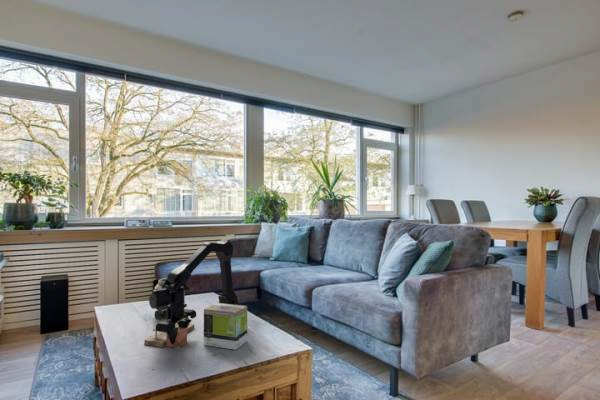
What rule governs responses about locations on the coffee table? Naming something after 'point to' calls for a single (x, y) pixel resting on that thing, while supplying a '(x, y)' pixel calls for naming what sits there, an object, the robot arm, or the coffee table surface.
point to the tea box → (225, 325)
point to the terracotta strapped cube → (180, 337)
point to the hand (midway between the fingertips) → (176, 341)
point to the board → (162, 338)
